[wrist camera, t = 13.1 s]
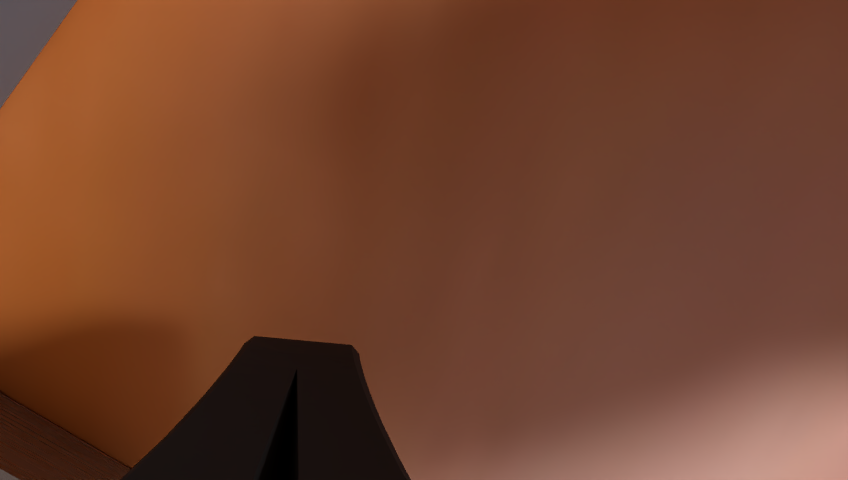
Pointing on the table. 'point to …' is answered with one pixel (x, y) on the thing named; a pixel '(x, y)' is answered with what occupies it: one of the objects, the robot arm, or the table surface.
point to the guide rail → (47, 450)
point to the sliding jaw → (25, 36)
